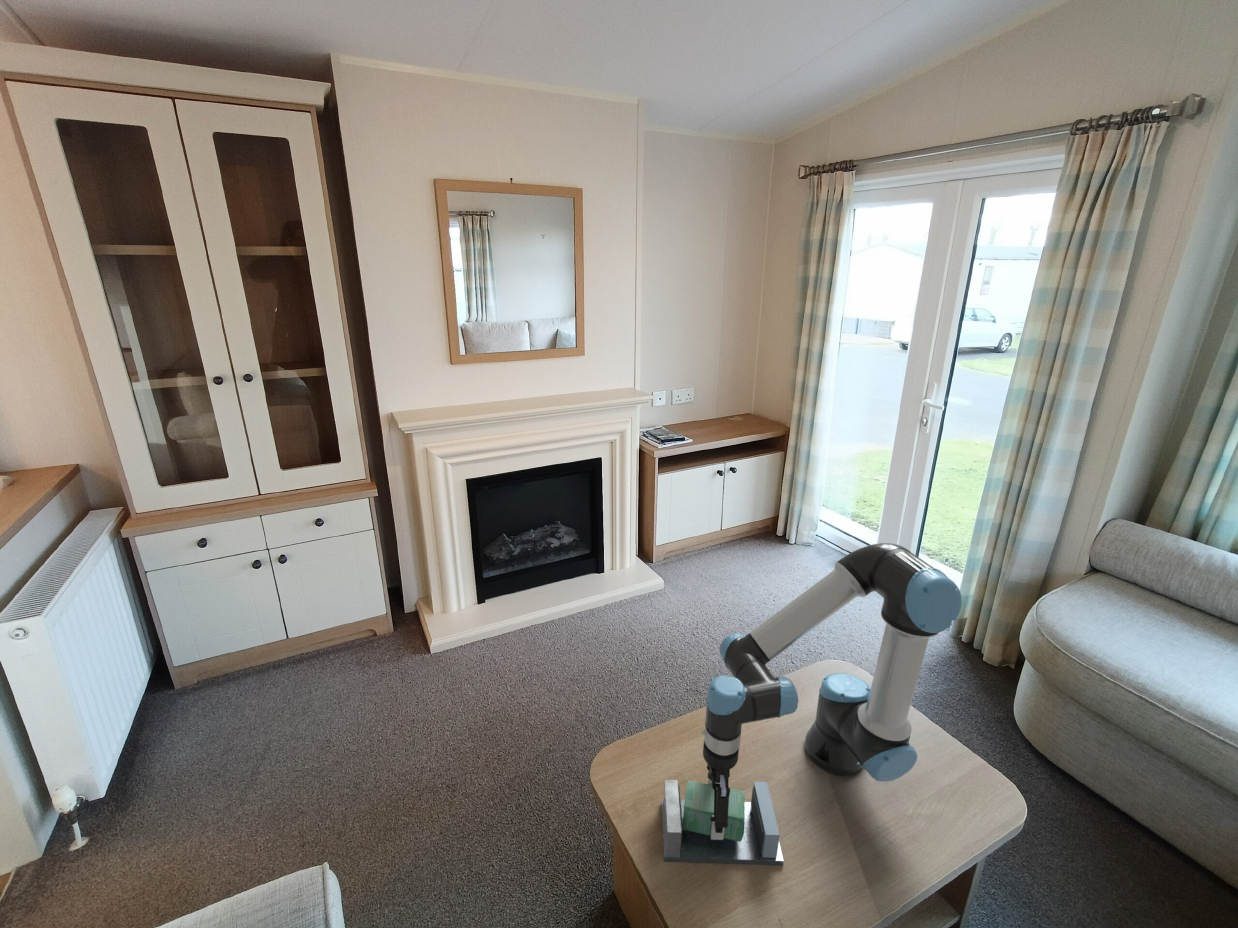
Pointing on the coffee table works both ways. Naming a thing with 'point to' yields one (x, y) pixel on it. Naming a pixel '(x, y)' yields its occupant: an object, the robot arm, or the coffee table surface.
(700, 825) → the box
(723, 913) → the coffee table surface
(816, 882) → the coffee table surface
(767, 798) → the block
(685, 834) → the vise
